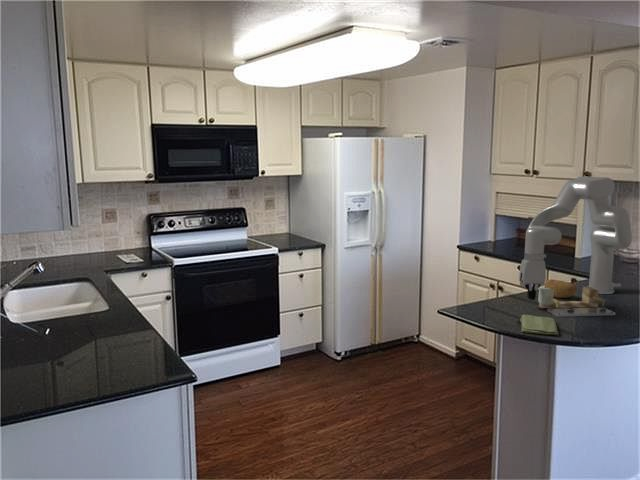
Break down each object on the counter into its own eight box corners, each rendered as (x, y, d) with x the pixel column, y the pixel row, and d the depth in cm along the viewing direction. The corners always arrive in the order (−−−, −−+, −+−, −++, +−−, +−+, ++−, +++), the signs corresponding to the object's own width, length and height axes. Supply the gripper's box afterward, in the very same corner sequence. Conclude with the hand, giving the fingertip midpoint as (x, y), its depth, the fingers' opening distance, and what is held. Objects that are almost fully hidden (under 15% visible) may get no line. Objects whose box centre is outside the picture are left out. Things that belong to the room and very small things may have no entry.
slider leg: (547, 301, 232) (547, 287, 231) (562, 309, 219) (563, 295, 218) (538, 301, 231) (539, 288, 230) (553, 309, 219) (554, 295, 218)
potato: (572, 302, 237) (574, 285, 236) (540, 297, 246) (541, 280, 245) (579, 298, 244) (580, 281, 243) (547, 293, 253) (548, 276, 252)
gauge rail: (592, 304, 234) (593, 286, 232) (610, 312, 221) (611, 294, 220) (537, 306, 231) (539, 288, 230) (552, 314, 219) (554, 295, 218)
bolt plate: (603, 309, 226) (603, 305, 225) (615, 315, 218) (615, 310, 218) (547, 311, 224) (547, 306, 223) (557, 317, 216) (557, 312, 215)
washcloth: (520, 334, 196) (521, 326, 196) (519, 320, 213) (520, 312, 212) (559, 338, 192) (560, 329, 192) (555, 323, 209) (555, 316, 208)
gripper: (546, 255, 229) (543, 296, 232) (512, 255, 228) (510, 297, 231) (555, 258, 222) (552, 301, 225) (520, 259, 221) (518, 302, 224)
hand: (531, 299), depth 228 cm, fingers closed
